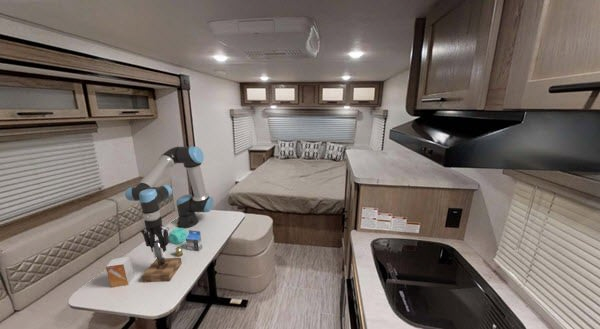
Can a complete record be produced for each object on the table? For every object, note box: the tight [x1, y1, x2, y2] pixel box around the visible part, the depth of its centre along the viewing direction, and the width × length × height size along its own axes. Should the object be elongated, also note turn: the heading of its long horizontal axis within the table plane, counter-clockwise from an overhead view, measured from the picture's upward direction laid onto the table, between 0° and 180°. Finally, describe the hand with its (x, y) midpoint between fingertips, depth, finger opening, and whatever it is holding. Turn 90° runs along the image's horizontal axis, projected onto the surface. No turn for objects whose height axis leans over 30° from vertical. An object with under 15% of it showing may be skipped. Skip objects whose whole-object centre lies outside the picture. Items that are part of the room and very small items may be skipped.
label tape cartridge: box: [185, 229, 203, 252], centre depth 145 cm, size 9×4×12 cm, turn 79°
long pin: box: [154, 239, 165, 266], centre depth 122 cm, size 3×3×14 cm
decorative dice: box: [168, 227, 188, 245], centre depth 154 cm, size 8×8×8 cm
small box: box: [105, 256, 135, 288], centre depth 117 cm, size 8×6×13 cm
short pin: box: [175, 246, 184, 258], centre depth 139 cm, size 3×3×5 cm
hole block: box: [141, 257, 183, 283], centre depth 125 cm, size 14×14×4 cm
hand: (160, 256), depth 123 cm, fingers closed on long pin, 3 cm apart
